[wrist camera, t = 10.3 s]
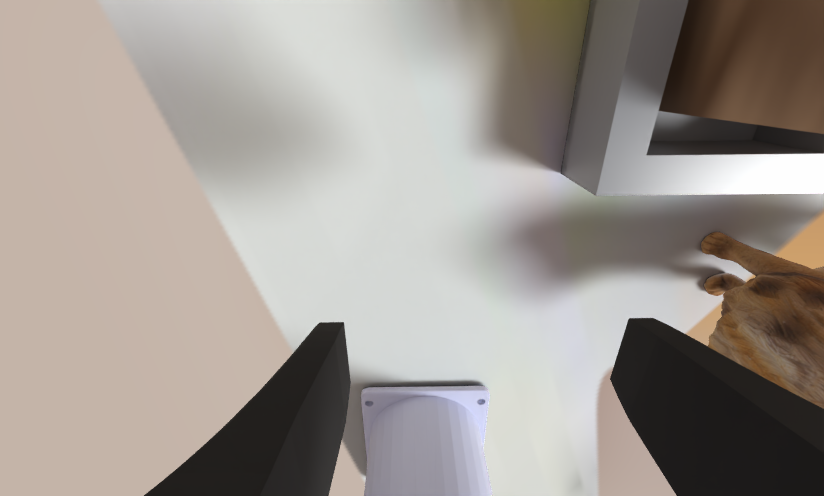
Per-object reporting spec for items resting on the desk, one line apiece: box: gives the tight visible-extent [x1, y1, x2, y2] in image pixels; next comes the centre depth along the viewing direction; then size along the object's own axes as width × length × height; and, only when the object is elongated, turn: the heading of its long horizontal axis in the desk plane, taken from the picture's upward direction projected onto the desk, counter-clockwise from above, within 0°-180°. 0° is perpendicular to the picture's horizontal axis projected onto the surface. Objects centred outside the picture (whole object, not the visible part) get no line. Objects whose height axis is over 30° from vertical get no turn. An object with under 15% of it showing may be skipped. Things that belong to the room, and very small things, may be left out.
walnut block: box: [659, 0, 824, 134], centre depth 11 cm, size 4×4×8 cm
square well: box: [561, 0, 824, 196], centre depth 13 cm, size 10×10×4 cm
